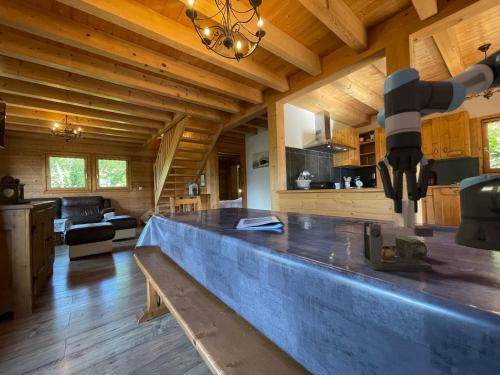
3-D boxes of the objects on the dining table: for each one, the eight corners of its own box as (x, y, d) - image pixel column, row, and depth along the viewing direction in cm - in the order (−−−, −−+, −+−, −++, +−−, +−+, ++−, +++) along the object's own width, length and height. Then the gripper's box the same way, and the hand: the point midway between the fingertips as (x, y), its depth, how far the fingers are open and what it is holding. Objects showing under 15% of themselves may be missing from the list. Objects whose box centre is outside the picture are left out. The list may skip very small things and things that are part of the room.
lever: (421, 242, 57) (421, 225, 57) (433, 247, 52) (433, 228, 53) (365, 242, 59) (364, 225, 59) (372, 246, 55) (371, 228, 55)
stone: (424, 269, 64) (438, 242, 60) (410, 277, 61) (424, 251, 57) (381, 240, 75) (390, 216, 71) (367, 247, 72) (375, 222, 68)
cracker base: (416, 262, 58) (414, 221, 58) (432, 272, 52) (430, 225, 52) (363, 261, 60) (361, 221, 60) (372, 270, 54) (371, 225, 54)
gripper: (423, 135, 58) (427, 223, 58) (367, 138, 61) (370, 224, 60) (444, 127, 51) (448, 228, 51) (379, 131, 53) (383, 228, 53)
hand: (406, 226), depth 55 cm, fingers closed on lever
